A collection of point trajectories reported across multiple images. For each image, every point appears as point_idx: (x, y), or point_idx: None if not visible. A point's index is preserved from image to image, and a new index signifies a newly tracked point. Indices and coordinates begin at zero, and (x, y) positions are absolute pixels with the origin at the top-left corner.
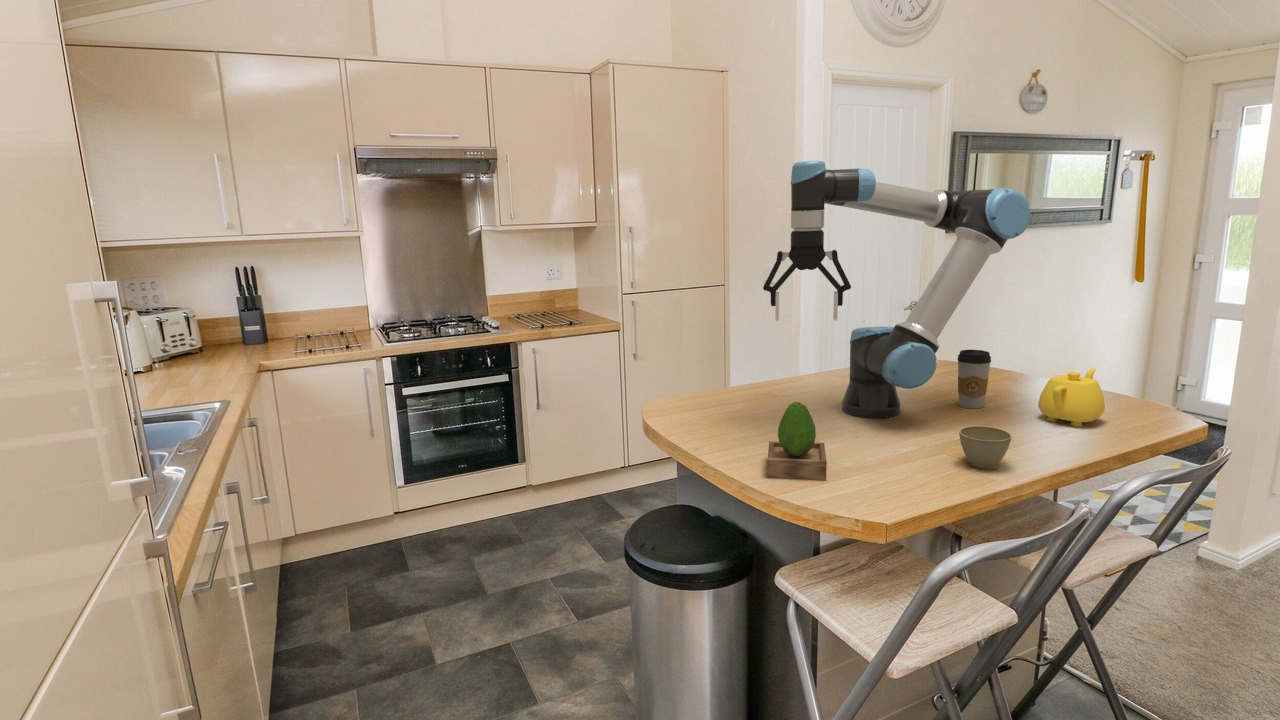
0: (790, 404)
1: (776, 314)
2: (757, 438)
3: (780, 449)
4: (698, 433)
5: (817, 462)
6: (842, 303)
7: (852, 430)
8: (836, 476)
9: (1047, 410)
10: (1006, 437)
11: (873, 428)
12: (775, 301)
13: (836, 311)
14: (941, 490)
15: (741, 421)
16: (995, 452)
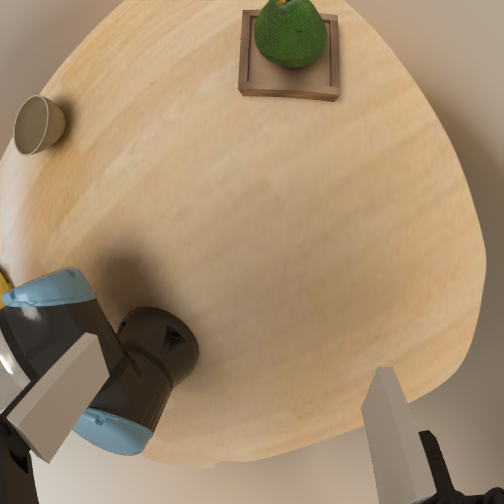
0: (307, 6)
1: (396, 388)
2: (352, 200)
3: (317, 75)
4: (439, 228)
5: (257, 10)
6: (30, 382)
7: (184, 249)
8: (230, 36)
9: (3, 284)
10: (19, 136)
11: (153, 260)
12: (416, 455)
13: (65, 356)
14: (114, 31)
15: (369, 293)
16: (38, 102)
